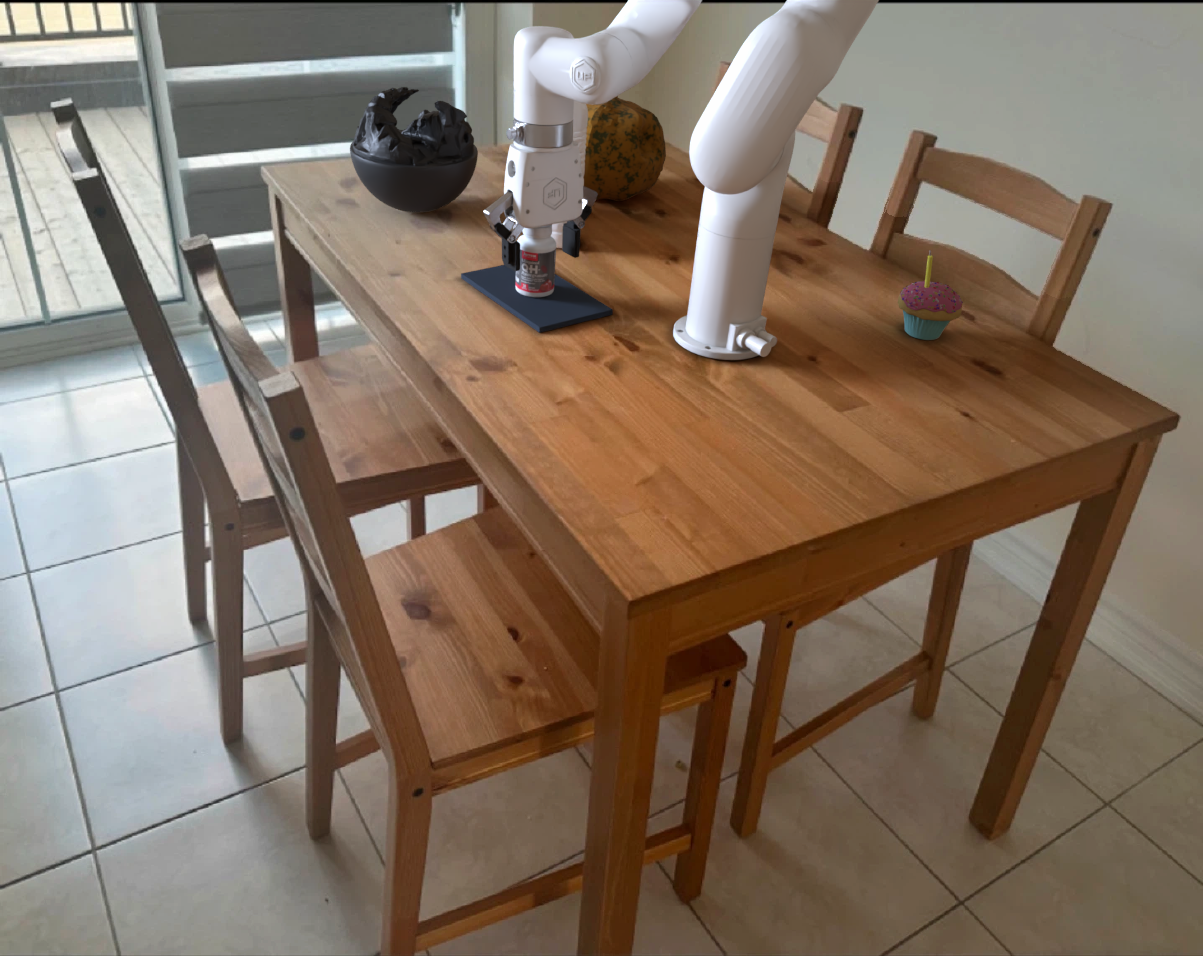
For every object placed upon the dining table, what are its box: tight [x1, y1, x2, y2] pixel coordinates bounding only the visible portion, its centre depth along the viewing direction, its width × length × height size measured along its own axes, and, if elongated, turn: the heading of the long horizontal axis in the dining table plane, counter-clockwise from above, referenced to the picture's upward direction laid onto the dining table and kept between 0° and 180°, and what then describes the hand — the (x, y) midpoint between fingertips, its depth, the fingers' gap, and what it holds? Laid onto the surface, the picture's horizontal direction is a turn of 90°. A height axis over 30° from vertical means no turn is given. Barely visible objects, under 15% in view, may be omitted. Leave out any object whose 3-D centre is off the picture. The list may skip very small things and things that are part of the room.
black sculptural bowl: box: [349, 86, 479, 214], centre depth 164 cm, size 20×20×19 cm
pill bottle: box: [515, 225, 557, 297], centre depth 141 cm, size 5×5×10 cm
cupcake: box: [897, 250, 964, 341], centre depth 140 cm, size 9×8×12 cm
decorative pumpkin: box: [583, 95, 667, 202], centre depth 178 cm, size 20×21×20 cm
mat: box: [460, 264, 614, 334], centre depth 144 cm, size 20×12×1 cm, turn 37°
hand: (541, 261), depth 141 cm, fingers open, 9 cm apart
